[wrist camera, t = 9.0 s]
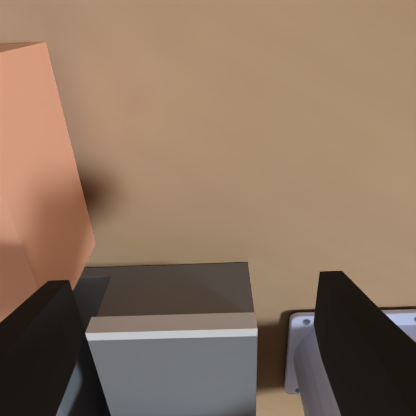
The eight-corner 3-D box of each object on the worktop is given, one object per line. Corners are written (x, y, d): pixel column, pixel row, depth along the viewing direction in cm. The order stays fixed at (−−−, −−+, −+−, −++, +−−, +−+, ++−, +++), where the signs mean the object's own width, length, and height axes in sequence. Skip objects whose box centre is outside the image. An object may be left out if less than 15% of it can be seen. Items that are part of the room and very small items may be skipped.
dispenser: (247, 255, 21) (269, 414, 13) (247, 397, 28) (261, 562, 20) (-60, 266, 22) (-222, 424, 14) (12, 402, 29) (-69, 563, 21)
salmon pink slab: (45, 42, 15) (-47, 63, 10) (95, 243, 20) (53, 331, 14) (-3, 44, 15) (-121, 67, 10) (59, 245, 20) (4, 332, 15)
